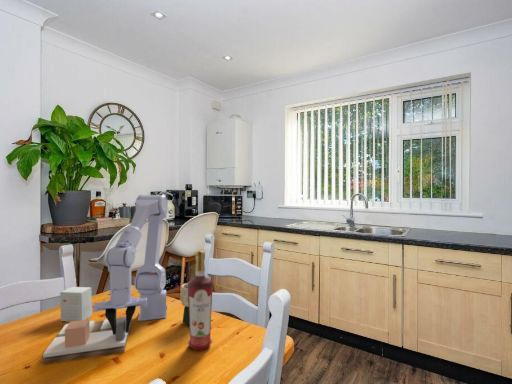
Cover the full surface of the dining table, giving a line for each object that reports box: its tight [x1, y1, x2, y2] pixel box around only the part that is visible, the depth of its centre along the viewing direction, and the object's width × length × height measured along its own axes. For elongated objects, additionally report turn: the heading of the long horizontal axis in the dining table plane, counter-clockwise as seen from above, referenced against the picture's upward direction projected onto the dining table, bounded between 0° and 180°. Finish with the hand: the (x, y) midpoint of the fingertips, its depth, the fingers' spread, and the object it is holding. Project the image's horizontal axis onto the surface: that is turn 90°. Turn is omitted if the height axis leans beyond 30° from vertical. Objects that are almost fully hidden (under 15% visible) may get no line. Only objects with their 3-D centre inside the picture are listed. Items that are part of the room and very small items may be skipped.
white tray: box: [42, 317, 129, 358], centre depth 85 cm, size 20×9×5 cm, turn 107°
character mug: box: [180, 282, 189, 325], centre depth 101 cm, size 11×7×13 cm, turn 164°
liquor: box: [187, 250, 214, 351], centre depth 86 cm, size 7×7×28 cm
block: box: [65, 319, 91, 347], centre depth 84 cm, size 5×5×5 cm
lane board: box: [41, 316, 133, 365], centre depth 90 cm, size 20×21×2 cm
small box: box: [59, 286, 93, 323], centre depth 104 cm, size 8×6×10 cm
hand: (121, 332), depth 88 cm, fingers open, 3 cm apart
